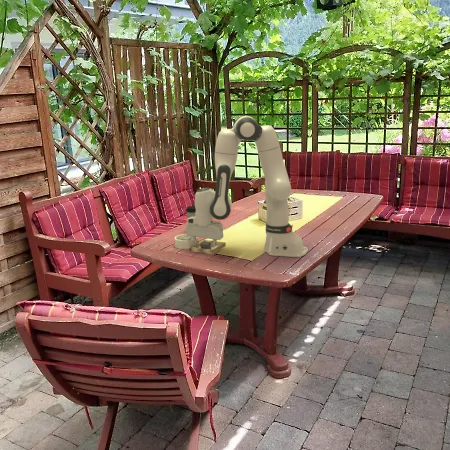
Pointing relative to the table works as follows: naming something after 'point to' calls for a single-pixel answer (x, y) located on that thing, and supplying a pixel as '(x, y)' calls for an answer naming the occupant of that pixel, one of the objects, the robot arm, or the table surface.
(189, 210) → the coffee cup
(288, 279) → the table surface
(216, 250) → the parts tray
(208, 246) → the charcoal cube
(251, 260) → the table surface
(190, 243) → the bowl
